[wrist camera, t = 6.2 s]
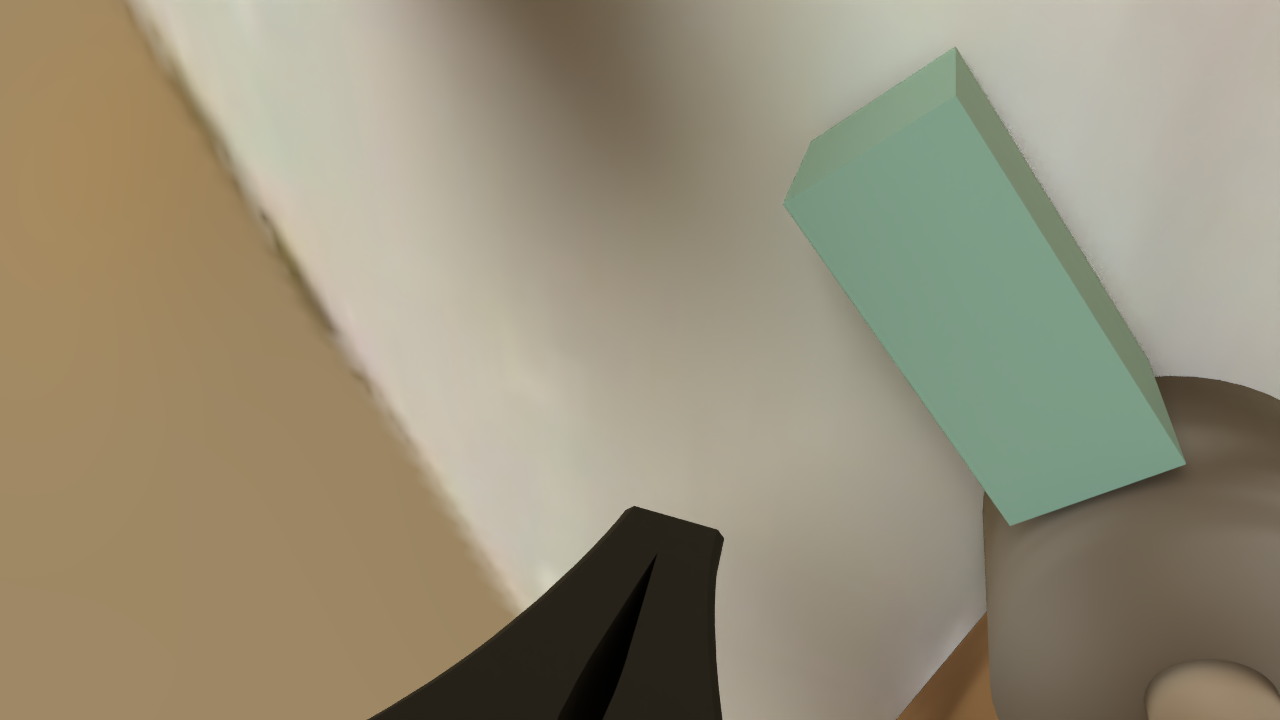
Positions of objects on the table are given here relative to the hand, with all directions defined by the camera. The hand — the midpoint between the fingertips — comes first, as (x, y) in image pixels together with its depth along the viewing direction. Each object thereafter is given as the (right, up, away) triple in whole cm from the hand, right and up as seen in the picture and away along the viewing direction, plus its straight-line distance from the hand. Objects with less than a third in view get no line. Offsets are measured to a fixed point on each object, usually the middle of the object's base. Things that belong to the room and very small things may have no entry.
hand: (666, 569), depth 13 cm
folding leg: (+6, +5, +5) cm, 9 cm away
